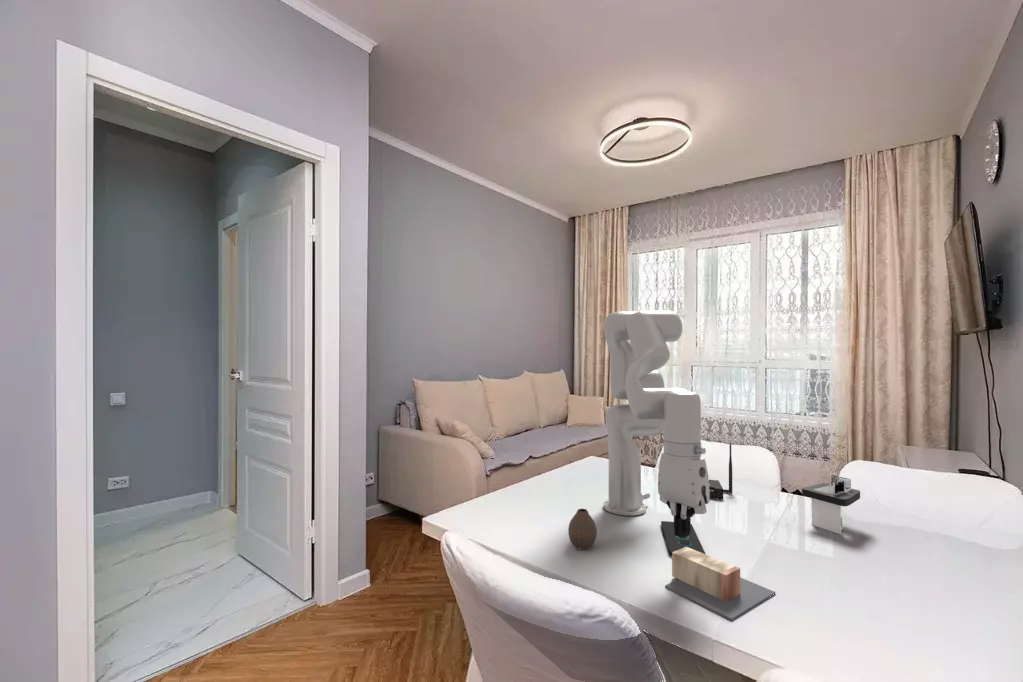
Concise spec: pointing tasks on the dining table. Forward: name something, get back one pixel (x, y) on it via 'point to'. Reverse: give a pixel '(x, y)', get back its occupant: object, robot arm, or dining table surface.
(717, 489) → the black wifi router
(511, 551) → the dining table surface
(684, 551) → the maple block
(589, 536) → the vase
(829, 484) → the black-topped pedestal
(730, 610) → the mat
